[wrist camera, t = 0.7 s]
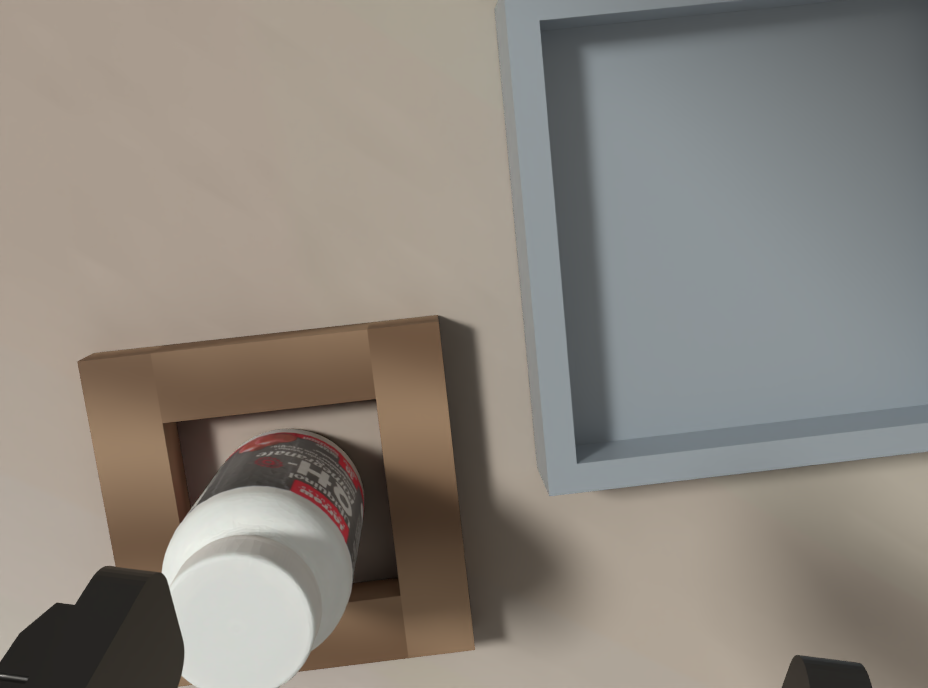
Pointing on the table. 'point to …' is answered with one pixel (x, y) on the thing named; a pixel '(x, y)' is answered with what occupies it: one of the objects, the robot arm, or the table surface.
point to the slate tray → (718, 233)
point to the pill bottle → (265, 560)
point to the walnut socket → (285, 387)
